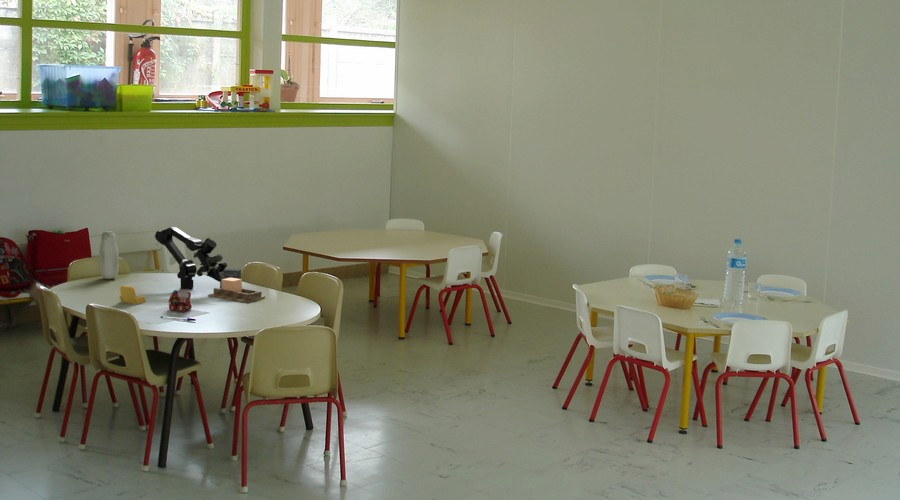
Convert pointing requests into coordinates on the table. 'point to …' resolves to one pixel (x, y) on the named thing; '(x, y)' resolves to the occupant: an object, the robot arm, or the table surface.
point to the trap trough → (237, 295)
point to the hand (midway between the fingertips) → (220, 281)
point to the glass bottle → (108, 255)
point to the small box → (230, 274)
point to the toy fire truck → (180, 301)
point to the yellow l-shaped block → (130, 295)
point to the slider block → (232, 284)
